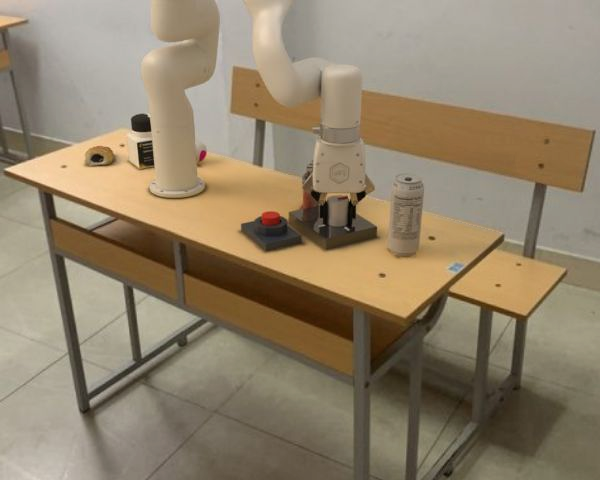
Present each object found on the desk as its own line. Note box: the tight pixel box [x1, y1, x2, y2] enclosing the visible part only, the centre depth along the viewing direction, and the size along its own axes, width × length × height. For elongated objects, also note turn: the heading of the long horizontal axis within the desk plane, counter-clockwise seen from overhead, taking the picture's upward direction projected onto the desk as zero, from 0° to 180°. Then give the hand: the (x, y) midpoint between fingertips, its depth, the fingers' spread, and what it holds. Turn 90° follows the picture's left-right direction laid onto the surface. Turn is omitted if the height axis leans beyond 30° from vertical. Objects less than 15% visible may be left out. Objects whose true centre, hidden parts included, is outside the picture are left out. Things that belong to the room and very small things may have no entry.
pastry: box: [84, 145, 115, 167], centre depth 194 cm, size 9×7×4 cm
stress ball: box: [195, 139, 208, 167], centre depth 193 cm, size 8×8×7 cm
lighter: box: [301, 159, 319, 209], centre depth 166 cm, size 8×3×10 cm, turn 168°
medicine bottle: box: [126, 113, 155, 170], centre depth 191 cm, size 7×7×12 cm
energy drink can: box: [387, 173, 425, 258], centre depth 147 cm, size 6×6×15 cm
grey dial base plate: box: [288, 205, 378, 251], centre depth 158 cm, size 15×12×3 cm
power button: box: [261, 210, 281, 226], centre depth 154 cm, size 4×4×2 cm
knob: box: [326, 194, 350, 227], centre depth 155 cm, size 4×4×5 cm
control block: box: [240, 215, 303, 252], centre depth 155 cm, size 11×8×4 cm
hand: (337, 220), depth 156 cm, fingers closed on knob, 4 cm apart
